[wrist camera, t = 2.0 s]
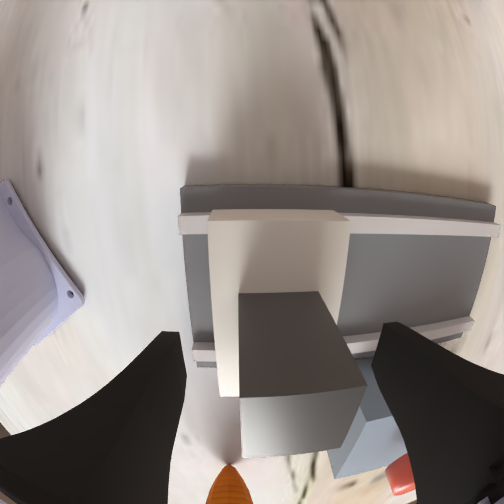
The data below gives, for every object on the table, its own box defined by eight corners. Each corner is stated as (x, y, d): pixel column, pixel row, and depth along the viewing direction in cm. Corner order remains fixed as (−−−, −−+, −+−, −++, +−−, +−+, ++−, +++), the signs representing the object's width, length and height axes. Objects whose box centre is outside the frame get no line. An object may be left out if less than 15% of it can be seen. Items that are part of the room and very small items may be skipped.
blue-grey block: (320, 428, 19) (334, 479, 14) (340, 361, 17) (366, 422, 12) (401, 411, 20) (423, 452, 15) (433, 345, 17) (468, 388, 12)
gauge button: (377, 478, 12) (385, 500, 10) (397, 454, 11) (408, 479, 9) (420, 463, 12) (429, 482, 11) (442, 436, 11) (454, 458, 9)
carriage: (221, 369, 14) (216, 486, 7) (212, 209, 11) (176, 290, 5) (313, 365, 14) (348, 474, 8) (333, 209, 11) (435, 280, 5)
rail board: (199, 356, 16) (196, 375, 14) (184, 185, 13) (176, 190, 11) (454, 330, 17) (465, 342, 15) (486, 202, 14) (503, 208, 12)
